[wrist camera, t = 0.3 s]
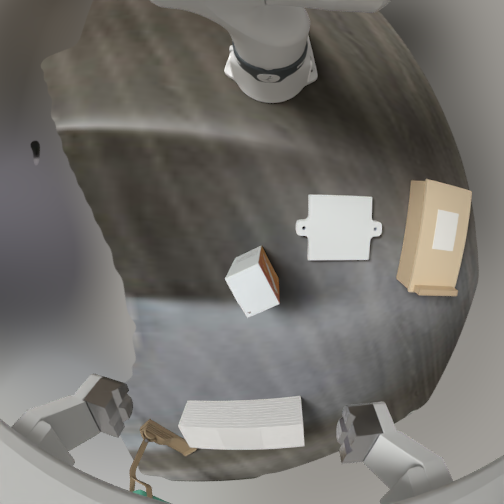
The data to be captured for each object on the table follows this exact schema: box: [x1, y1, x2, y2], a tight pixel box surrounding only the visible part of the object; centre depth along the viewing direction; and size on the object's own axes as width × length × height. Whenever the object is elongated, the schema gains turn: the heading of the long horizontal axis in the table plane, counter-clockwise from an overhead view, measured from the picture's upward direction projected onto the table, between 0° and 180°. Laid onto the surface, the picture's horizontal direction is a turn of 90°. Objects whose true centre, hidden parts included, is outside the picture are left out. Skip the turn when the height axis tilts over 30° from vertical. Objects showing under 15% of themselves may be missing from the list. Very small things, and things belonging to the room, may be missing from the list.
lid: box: [408, 179, 472, 296], centre depth 44 cm, size 23×13×3 cm, turn 176°
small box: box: [225, 246, 280, 318], centre depth 51 cm, size 8×6×13 cm
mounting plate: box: [296, 195, 382, 260], centre depth 53 cm, size 18×13×2 cm
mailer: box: [396, 180, 426, 288], centre depth 49 cm, size 22×13×6 cm, turn 176°
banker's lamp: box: [130, 419, 197, 503], centre depth 58 cm, size 16×21×35 cm
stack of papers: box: [178, 396, 304, 450], centre depth 63 cm, size 32×11×11 cm, turn 99°
